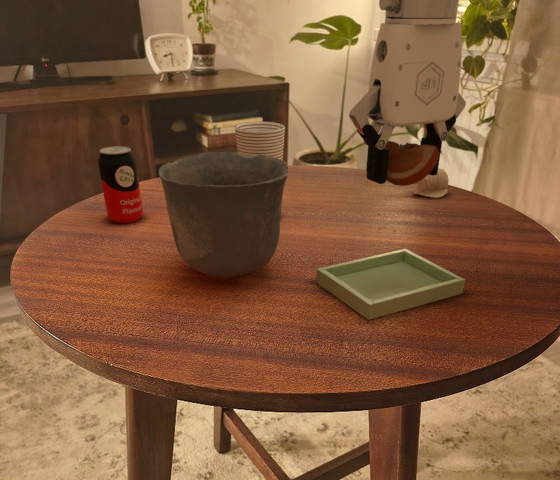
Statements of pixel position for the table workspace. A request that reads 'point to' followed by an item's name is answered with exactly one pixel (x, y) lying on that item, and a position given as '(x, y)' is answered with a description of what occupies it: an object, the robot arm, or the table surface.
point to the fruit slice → (410, 162)
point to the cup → (260, 139)
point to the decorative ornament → (433, 185)
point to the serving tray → (389, 283)
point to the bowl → (225, 210)
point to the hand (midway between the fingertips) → (402, 176)
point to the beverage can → (120, 184)
